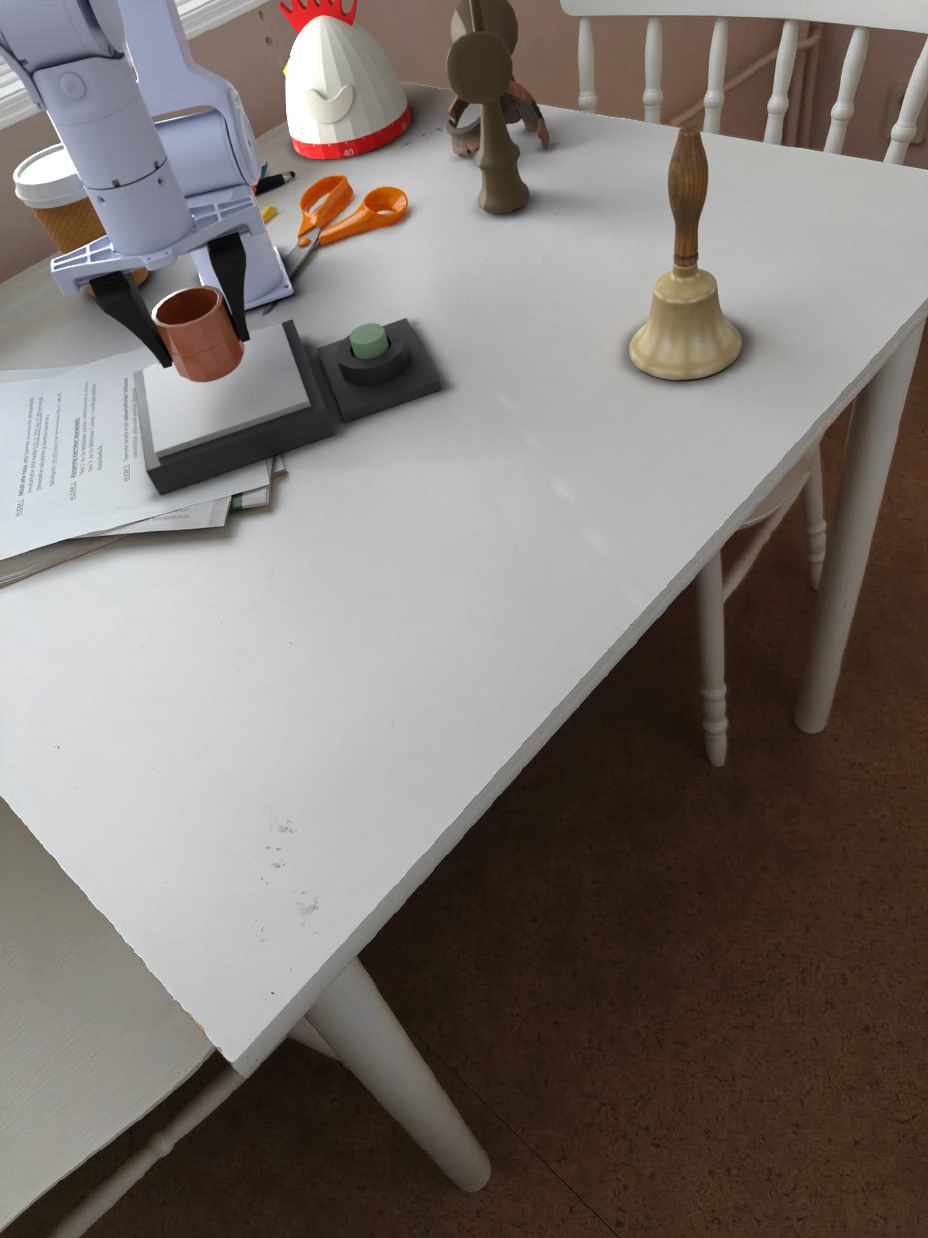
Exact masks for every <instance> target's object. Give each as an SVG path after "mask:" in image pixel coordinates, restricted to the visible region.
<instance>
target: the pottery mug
mask: <svg viewBox="0 0 928 1238" xmlns="http://www.w3.org/2000/svg"><path fill="white" fill-rule="evenodd" d="M499 102H500V106H501V109H502V113H503V117H504V120H505V123H506V125H513V124H517V123H519V122H520V121H523V124H524V128H525V132H527V133H530V132H536V136H537V138H539V139H540V140H541V145H542V148H543V149H544V150H548V149H549V146H550V142H551V136H550V132H549V131H548V128H547V124H546V120H545V117H544V116H543V113H542V112H541V108H540V106H539V105H538V103H537V101H536V100H535V99H534V97H533V95H532V94H531V93H530V92H529V91H528V90H527V89H526V88H525V87H524V86H523V85H522V84H521V83H519V82H516V80H515V77H514V75H513V74H512V80H511V82H510V85H509V87H508V90H507V91H506V92H505V93H504V94H503V95H502V96H501V97H499ZM470 105H471V104H470V103H468V102H466V101H463V100H461V99H460V98H459V97H458V96H457V95H456V96H455V98H454V99H453V101H451V104H450V106H449V108H448V110H447V114H448V116H449V117H450V118H448V119H447V121H446V124H445V126H444V127H445V130H446V132H447V133H448V134H449V135H450V136H451V137H450V139H451V145H452V151H453V153H454V154H456V155H458V157H463V156H464V155H465V156H469V155H471V154H472V153H477V152H478V150H479V148H480V138H481V115H480V116H478V117H477V118H476V119H474V121H472V122H471V123H469V124H467V125H466V126H463V127H458V125H459V122H460V120H461V118H462V115H463V113H465V110H467V108H468V107H469V106H470ZM451 118H452V119H451Z"/></svg>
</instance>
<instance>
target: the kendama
mask: <svg viewBox="0 0 928 1238" xmlns="http://www.w3.org/2000/svg"><path fill="white" fill-rule="evenodd" d="M510 3H511V2H509V0H461V1H460V2H459V3H458V4H457V5H456V6H455V8H454V12H453V13H452V17H451V20H450V38H451V41H452V44H451V45H450V46H449V49H448V53H447V55H446V58H445V62H446V63H445V69H446V77H447V80H448V83H449V86H450V89H451V90H452V91H453V92H454V93H455V95H456V96H458V97H459V98H460V99H461V100H463V101H466V102H468V103H470V104H469V105H479V108H480V111H479V112H480V116H481V138H480V148H479V150H478V151H476V154H475V156H474V163H475V166H476V167H477V168H478V169H479V171H480V173H481V190H480V192H479V194H478V196H477V203H478V204H477V205H478V208H479V209H481V210H482V211H484V212H486V213H490V214H504V213H509V212H512V211H515V210H517V209H519V208H521V207H523V206H524V205H525V204H526V203H527V201H528V200H529V198H530V189H529V187H528V185H527V184H526V183H525V182H524V181H523V179H522V177H521V175H520V170H519V159H520V157H521V149H520V146H519V145H518V144H516V143H515V142H514V141H513V139H512V137H511V135H510V133H509V129H508V127H507V124H506V123H505V120H504V117H503V113H502V109H501V106H500V102H499V97H501V96H502V95H503V94H504V93H505V92H506V91H507V90H508V87H509V85H510V82H511V80H512V75H513V69H514V68H513V67H514V66H513V65H514V64H513V63H514V62H513V60H512V56H513V54H514V52H515V49H516V46H517V44H518V41H519V23H518V18H517V15H516V11H515V9H514V7H513V6H512V5H511V4H510Z"/></svg>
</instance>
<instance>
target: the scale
mask: <svg viewBox="0 0 928 1238" xmlns="http://www.w3.org/2000/svg"><path fill="white" fill-rule="evenodd" d="M249 335H250V338H251V339H250V340H249V341H246V342H243V343H244V346H245V349H244V355H243V357H242V361H241V363H240V364H239V366H238V367H237V368H236V369H235V370H234V371H232V372H231V373H230V374H228V375H226V376H224V377H222V378H220V379H217V380H214V381H210V382H193V381H190V380H188V379H187V378H184V377H181V376H180V375H179V373H178V372H177V371H176V369H175V367H174V365H173V363H172V365H173V366H171V367H168V368H163V366H162V365H161V363H160V362H158V363H155V364H152V365H149V366H146V367H142V369H139V370H136V371H133V374H132V375H133V380H134V387H135V388H134V389H135V396H136V404H137V405H136V406H137V413H138V419H139V428H140V434H141V442H142V450H143V457H144V465H145V472H146V474H147V476H148V477H149V479H150V481H151V483H152V484H153V486H154V488H155V489H156V491H157V493H158V495H160V496H161V495H164V494H167V493H170V492H173V491H176V490H178V489H181V488H183V487H187V486H189V485H192V484H195V483H199V482H201V481H204V480H207V479H210V478H212V477H216V476H219V475H222V474H224V473H227V472H231V471H233V470H235V469H238V468H239V469H240V468H242V467H245V466H247V465H250V464H253V463H257V462H259V461H262V460H265V459H268V458H271V457H274V456H277V455H279V454H282V453H285V452H286V453H287V452H289V451H291V450H294V449H297V448H300V447H303V446H306V445H309V444H311V443H314V442H317V441H320V440H323V439H325V438H329V437H331V436H334V435H336V432H335V429H334V427H333V424H332V420H331V418H330V415H329V412H328V410H327V407H326V405H325V401H324V399H323V396H322V394H321V391H320V388H319V386H318V383H317V379H316V377H315V375H314V371H313V370H312V367H311V365H310V364H311V363H310V362H309V359H308V357H307V356H308V355H307V353H306V350H305V348H304V345H303V342H302V340H301V337H300V335H299V332H298V330H297V327H296V323H295V321H294V319H293V318H291V319H288V320H285V321H283V322H282V321H281V322H277V323H274V324H272V325H269V326H265V327H262V328H259V329H257V330H253V331H250V332H249Z"/></svg>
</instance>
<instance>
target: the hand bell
mask: <svg viewBox="0 0 928 1238" xmlns="http://www.w3.org/2000/svg"><path fill="white" fill-rule="evenodd" d="M708 162H709V161H708V158H707V154H706V150H705V146H704V144H703V140H702V134H701V128H700V126H698V125H696V124H686V125H683V126H681V127H680V128H679V129H678V135H677V139H676V143H675V145H674V149H673V151H672V154H671V158H670V161H669V166H668V171H667V172H668V173H667V195H668V202H669V206H670V210H671V214H672V217H673V220H674V230H675V231H674V247H673V263H672V270H670V271H668V272H665V273H664V274H662V275H661V276H660V277H659V278H658V279H657V280H656V281H655V283H654V286H653V291H652V300H651V305H650V309H649V310H650V311H649V314H648V318H647V320H646V322H645V323H644V324H643V325H642V326H640V328H639V329H638V330H636V332H635V333H634V335H633V337H632V339H631V341H630V343H629V346H628V347H629V348H628V354H629V357H630V360H631V362H632V363H633V365H634V366H635V367H636V368H637V369H639V370H640V371H642V372H643V373H646V374H647V375H651V376H652V377H656V378H658V379H663V380H669V381H670V380H671V381H684V380H685V381H687V380H697V379H703V378H705V377H709V376H712V375H715V374H717V373H719V372H721V371H723V370H725V369H726V368H727V367H729V366H731V364H733V363H734V362H735V361H736V360H737V359H738V357H739V356H740V354H741V351H742V349H743V338H742V336H741V334H740V332H739V330H738V329H737V327H736V326H735V325H734V324H733V323H732V322H731V321H730V320H728V319H727V318H726V317H725V316H724V313H723V311H722V308H721V307H722V306H721V303H720V298H719V297H720V296H719V289H718V282H717V279H716V277H715V276H714V275H713V274H712V273H711V272H710V271H708V270H705V269H703V268H699V267H698V265H699V264H698V262H699V261H698V260H699V225H700V220H701V215H702V213H703V210H704V207H705V203H706V199H707V194H708V187H709V163H708Z"/></svg>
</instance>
